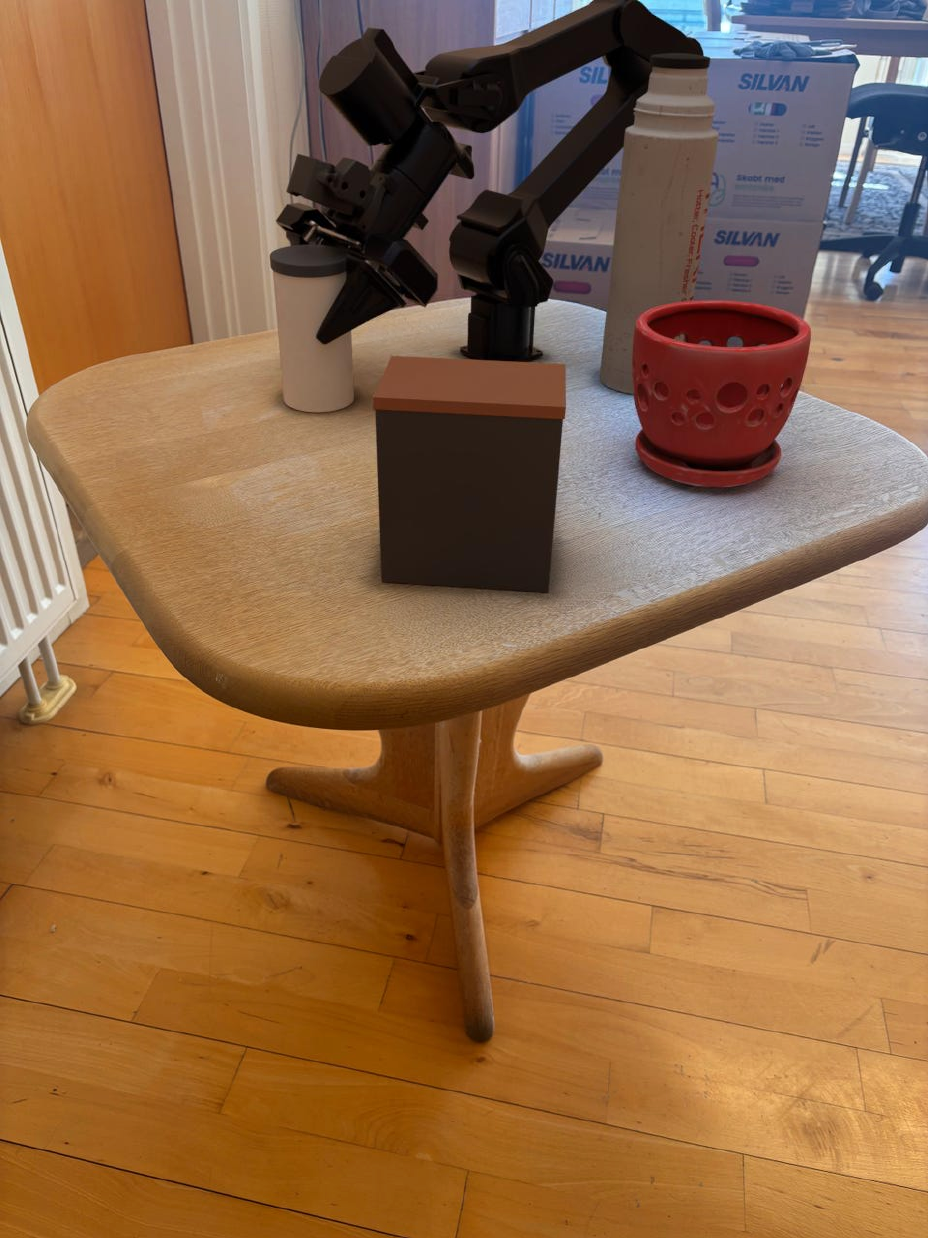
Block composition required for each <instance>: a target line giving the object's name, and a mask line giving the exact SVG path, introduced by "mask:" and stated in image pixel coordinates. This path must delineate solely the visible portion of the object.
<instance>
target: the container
mask: <svg viewBox="0 0 928 1238" xmlns="http://www.w3.org/2000/svg"><path fill="white" fill-rule="evenodd" d="M347 254H349V253H348V252H347V251H346V250H344V249H341V248H337V247H333V246H326V245H294V246H291V245H288V246H283V247H279V248H277V249H275V250H273V251H271V252H270V254H269V265H270V269H271V270H272V278H273V279H272V281H273V289H274V302H275V313H276V323H277V336H278V349H279V359H280V360H279V361H280V370H281V372H280V373H281V382H282V393H283V395H282V396H283V402H284V403H285V405H286V406H288V407H289V408H291V409H294V410H296V411H300V412H306V413H328V412H329V413H330V412H335V411H339V410H343V409H344V408H346V407H349V406H350V405H351V404H352V403H353V402H354V400H355V390H354V367H353V366H354V364H353V363H354V362H353V342H352V341H353V340H352V330H351V331H349V332H348V333H346V334H344V335H342V336H340V337H339V338H337V339H335V340H333V341H331V342H330V343H328V344H326V345H324V344H322V343H321V342H320V341H318V340H317V339H316V334H317V332H318V330H319V328H320V326H321V324H322V322H323V320H324V318H325V317H326V315H327V313H328V311H329V310H330V308H331V306H332V304H333V303H334V301H335V299H336V297H337V296H338V294H339V292H340V290H341V289H342V287H343V285H344V284H345V281H346V256H347ZM349 255H350V254H349Z"/></svg>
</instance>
